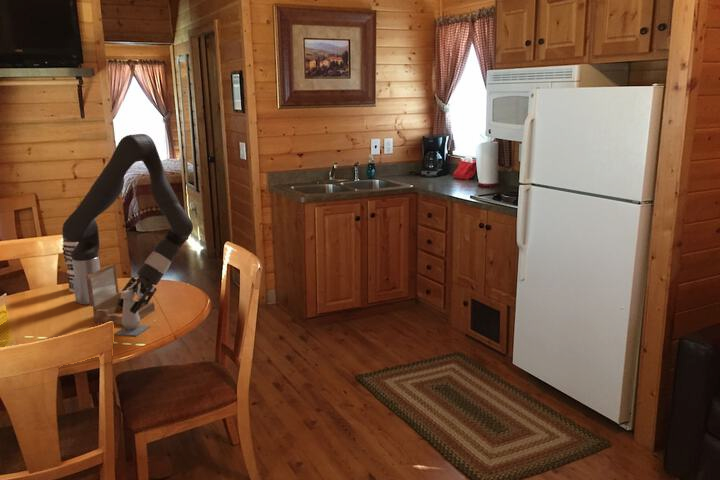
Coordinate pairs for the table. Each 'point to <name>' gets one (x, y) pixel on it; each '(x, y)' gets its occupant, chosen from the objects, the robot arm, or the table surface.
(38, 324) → the table surface
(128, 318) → the salt shaker
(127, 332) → the plate
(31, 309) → the table surface
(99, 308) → the frame
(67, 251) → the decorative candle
